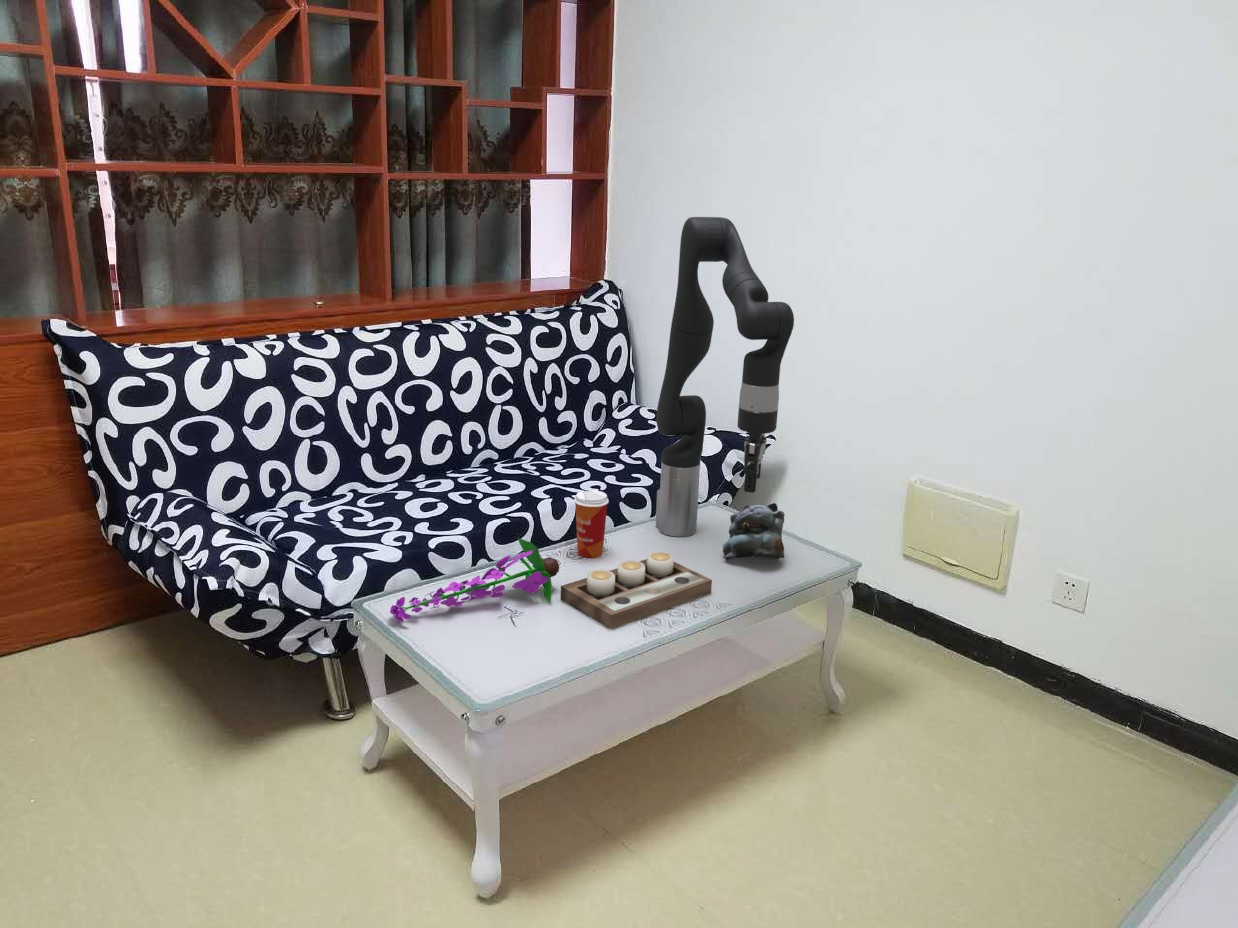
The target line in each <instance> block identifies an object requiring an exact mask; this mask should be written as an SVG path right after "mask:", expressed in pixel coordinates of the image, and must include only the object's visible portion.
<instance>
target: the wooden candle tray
mask: <svg viewBox="0 0 1238 928" xmlns="http://www.w3.org/2000/svg"><path fill="white" fill-rule="evenodd" d="M638 562H641V563H643V564H644V565H645V581H644V582H643V583H642V584H639V585H625V584H622V583H620V582H619V581H618V580H617V577H618V567H616V568H614V569H610V570H609V571H610V572H612V573H614V574H615V591H614V592H613V593H611V594H609V595H594V594H591V593H589V592H588V591H587V577H585V578H582V579H579V580H575V581H573V582H569V583H566V584H562V585H560V600H561V601H562V602H565V603H566V604H567V605H569V606H571V607H572V608H574V609H576V610H578V611H579V612H581V613H583V614H584V615H586V616H587V617H589V618H591V619H593V620H595V621H596V622H597V623H599V624H601V625H603V627H607V628H608V629H610V630H613V629H615V628H618V627H621V626H624V625H627V624H629V623H632V622H635V621H637V620H640V619H643V618H646V617H649V616H652V615H654V614H657V613H659V612H663V611H666V610H668V609H671V608H673V607H674V608H675V607H676V606H679V605H682V604H684V603H687V602H690V601H693V600H695V599H699V598H702V597H704V596H707V595H710V594H712V586H713V585H712V583H713V579H711V578H710V577H707V576H705V575H703V574H701V573H698V572H696V571H694V570H693V569H690V568H688V567H686V566H684V565H682V564H680V563H677V562H675V561H674V563H673V572H672V573H671V574H669V575H664V576H658V575H653V574H650V573H648V572H647V558H645V559H643V560H638Z"/></svg>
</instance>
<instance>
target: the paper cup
mask: <svg viewBox="0 0 1238 928" xmlns="http://www.w3.org/2000/svg"><path fill="white" fill-rule="evenodd" d="M573 501H574V503H575V518H576V519H575V521H576V522H575V523H576V542H577V545H576V547H577V555H578V556H580V557H581V558H585V559H596V558H599V557H601V556H602V555H603V551H604V543H605V532H606V520H607V512H608V511H607V509H608V504H609V502H610V501H609V498H608V495H607V493H605V492H604V491H600V490H595V489H594V490H592V489H591V490H583V491H579V492H577V493H576V496H575V497H574V499H573Z"/></svg>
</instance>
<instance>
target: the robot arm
mask: <svg viewBox="0 0 1238 928" xmlns="http://www.w3.org/2000/svg"><path fill="white" fill-rule="evenodd" d="M679 245H680V247H679V258H678V259H679V260H678V273H677V274H678V275H677V286H676V287H677V288H676V294H675V295H676V296H675V301H674V308H673V313H672V318H671V320H672V321H671V327H670V332H669V341H668V351H667V359H666V366H665V370H664V376H663V381H662V385H661V389H660V393H659V397H658V402H657V409H656V419H655V420H656V427H657V429H658V432H659V433H660V434H661V435H663V436H666V437H676V436H677V437H678V436H682V437H681V438H680V439H678V440H677V441H676V442H674V443H672V444H670V445H667V446H666V447H664V448H663V449H662V452H661V461H660V462H661V467H660V485H659V486H660V487H659V488H658V489H657V490H656V510H655V527H656V528H657V529H658V531H659V532H660V533H661V534H664V535H667V536H669V537H670V536H672V537H688V536H691V535H694V534H696V533H697V525H698V524H697V523H698V522H697V521H698V508H699V493H700V489H699V488H700V478H701V476H700V473H701V458H702V455H703V450H704V439H705V431H706V423H707V421H706V420H707V410H706V409H707V408H706V404H705V401H704V399H703V398H702V397H701V396H699V395H695V394H694V395H693V394H692V395H681V394H682V390H683V387H684V385H685V384H686V382H687V380H688V379H689V377H690V376H691V374H693V372H694V371H695V370H696V369H697V367H698V366H699V365H700V364H701V363H702V362H703V360H704V358H705V357H706V356H707V354H708V352H709V350H710V348H711V344H712V343H711V342H712V337H713V330H714V324H715V322H714V316H713V312H712V310H711V307H710V306H709V304H708V301H707V300H706V298H705V295H704V293H703V291H702V289H701V286H700V284H699V283H700V282H699V275H698V274H699V272H698V271H699V264H700V263H703V262H707V263H719V262H723V263H724V264H726V267H725V269H724V272H723V274H722V279H721V281H722V282H721V283H722V289H723V291H724V293H725V295H726V297H727V298H728V300H729V301H730V303H731V304H732V306H733V308H734V314H735V318H736V325H737V330H738V333H739V334H740V335H741V336H742V337H743V338H745V339H747V340H750V341H760V340H761V341H763V340H766V341H765V344H764V345H763V346H761V347H760V348H759V349H755V350H752V351H749V352H748V353H746V354H745V355H744V358H743V365H742V376H741V377H742V378H741V379H742V380H741V387H740V391H739V397H738V398H739V402H738V414H737V415H738V416H737V429H739V430H740V431H742V432H746V433H748V435H746V437H745V438H744V445H743V446H744V454H743V461H744V462H743V463H744V464H743V465H744V466H743V468H742V469H743V471H742V472H743V474H744V482H743V484H744V486H743V491H744V492H745V493H752V494H753V493H755V492H756V489H757V480H758V479H759V480H760V478H761V468H762V461H763V459H764V455H765V452H766V445H767V439H768V438H767V437H766V434H771V433H774V432H775V431H776V430H777V424H778V414H779V413H778V412H779V402H780V376H781V375H780V374H781V365H782V360H783V359H784V358H783V357H784V355H785V353H786V348H787V346H788V343H789V342H790V338H791V336H792V332H793V330H794V326H795V316H794V312H793V310H792V308H791V306H790V304H788V303H787V302H783V301H769V293H768V290H767V288H766V287H765V284H764V283H763V281H762V280H760V277H759V276H758V275H757V273H756V271H754V269H753V267H752V265H751V263H750V261H749V258H748V255H747V251H746V250H745V247H744V244H743V242H742V240H741V237H740V234H739V232H738V230H737V228H736V226H735V224H734V223H733V222H732V221H731V220H730V219H729V218H726V217H720V216H716V217H715V216H691V217H688V218H687V219H686V220H685V221H684V224H683V227H682V230H681V235H680V244H679Z"/></svg>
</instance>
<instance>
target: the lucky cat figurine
mask: <svg viewBox="0 0 1238 928" xmlns="http://www.w3.org/2000/svg"><path fill="white" fill-rule="evenodd" d="M729 519H730V525H729V527H728V534H729V539H727V540H726V542H724V544H723V545H722V553H723V555H724V556H723V557H722V558H723V559H725V560H731V559H746V558H747V559H748V558H764V559H765V558H766V559H768V558H769V559H775V560H780V559H784V558H785V548H784V547H785V546H784V543H783V536H782V533H783V528H784V523H785V512H784V511H783V510H781V509H780V510H778V505H777V503H776V502H772V503H770V504H768V505H764V504H763V505H762V504H755V505H745V506H744V507H743V508H742V510H741V511H740V512H734V513H733V514H730V518H729Z"/></svg>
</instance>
